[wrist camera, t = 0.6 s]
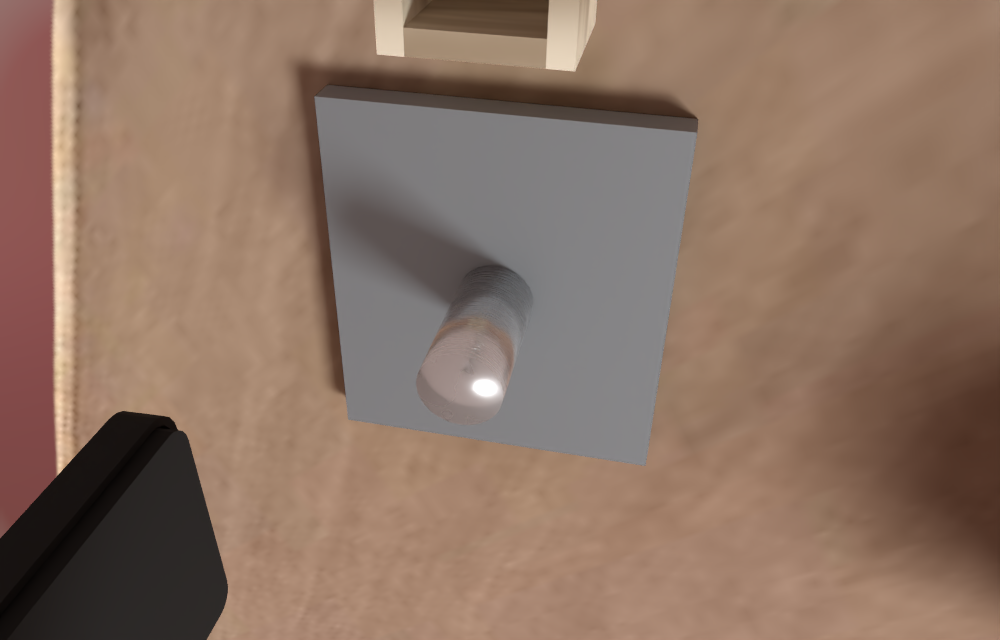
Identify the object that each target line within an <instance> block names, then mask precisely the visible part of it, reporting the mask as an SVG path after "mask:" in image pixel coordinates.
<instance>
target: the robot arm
mask: <svg viewBox="0 0 1000 640" xmlns="http://www.w3.org/2000/svg"><path fill="white" fill-rule="evenodd" d="M227 593H228V584H227V579H226V575H225V572H224V568H223V564H222V561H221V557H220V553H219V550H218V546H217V542H216V539H215V535H214V531H213V528H212V524H211V520H210V517H209V513H208V509H207V506H206V502H205V498H204V495H203V491H202V487H201V484H200V480H199V476H198V473H197V469H196V465H195V462H194V458H193V454H192V451H191V447H190V444H189V440H188V438H187V435H186V434H185V433H184V432H183V431H179V430H178V429H177V427H176V425H175V422H174V421H173V420H172V419H171V418H170V417H165V416H158V415H150V414H142V413H134V412H127V411H122V412H119V413H116V414H115V415H113V416H112V417H111V418H110V419H109V420H108V421H107V422H106V423H105V424H104V425H103V426H102V428H101V429H100V430H99V431H98V432H97V433H96V434H95V435H94V436H93V437H92V438H91V440H90V441H89V442H88V443H87V444H86V445H85V446H84V447H83V448H82V449H81V451H80V452H79V453H78V454H77V455H76V456H75V457H74V458H73V459H72V460H71V462H70V463H69V464H68V465H67V466H66V467H65V468H64V469H63V470H62V471H61V473H60V474H59V475H58V476H57V477H56V478H55V479H54V480H53V481H52V482H51V484H50V485H49V486H48V487H47V488H46V489H45V490H44V491H43V492H42V493H41V495H40V496H39V497H38V498H37V499H36V500H35V501H34V502H33V503H32V504H31V505H30V507H29V508H28V509H27V510H26V511H25V512H24V513H23V514H22V515H21V516H20V518H19V519H18V520H17V521H16V522H15V523H14V524H13V525H12V526H11V527H10V528H9V530H8V531H7V532H6V533H5V534H4V535H3V536H2V537H1V538H0V640H207V638H208V636H209V634H210V633H211V631H212V629H213V627H214V626H215V624H216V622H217V620H218V619H219V617H220V615H221V613H222V611H223V609H224V606H225V603H226V599H227Z"/></svg>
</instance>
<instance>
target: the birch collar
mask: <svg viewBox="0 0 1000 640" xmlns="http://www.w3.org/2000/svg"><path fill="white" fill-rule="evenodd" d="M596 8H597V0H374V15H375V32H376V48H377V54H378V55H390V56H402V57H414V58H425V59H437V60H449V61H460V62H472V63H484V64H495V65H507V66H519V67H531V68H542V69H554V70H566V71H575V70H576V68H577V65H578V63H579V61H580V58H581V56H582V53H583V51H584V49H585V46H586V44H587V42H588V39H589V37H590V35H591V32H592V30H593V28H594V25H595V21H596Z"/></svg>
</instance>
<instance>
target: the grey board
mask: <svg viewBox="0 0 1000 640" xmlns="http://www.w3.org/2000/svg"><path fill="white" fill-rule="evenodd" d="M314 98H315V107H316V117H317V126H318V136H319V146H320V155H321V165H322V174H323V184H324V193H325V203H326V212H327V222H328V231H329V241H330V250H331V260H332V269H333V279H334V288H335V298H336V307H337V317H338V326H339V336H340V345H341V355H342V364H343V374H344V383H345V393H346V402H347V412H348V420H355V421H361V422H368V423H374V424H380V425H387V426H393V427H400V428H406V429H412V430H419V431H425V432H432V433H438V434H444V435H451V436H457V437H464V438H470V439H476V440H483V441H489V442H496V443H502V444H508V445H515V446H521V447H528V448H534V449H541V450H547V451H553V452H560V453H566V454H573V455H579V456H585V457H592V458H598V459H605V460H611V461H617V462H624V463H630V464H637V465H643V466H645V465H646V459H647V453H648V446H649V440H650V433H651V427H652V420H653V414H654V408H655V401H656V395H657V388H658V382H659V376H660V369H661V363H662V356H663V350H664V343H665V337H666V331H667V324H668V318H669V311H670V305H671V298H672V292H673V286H674V279H675V273H676V266H677V260H678V253H679V247H680V241H681V234H682V228H683V221H684V215H685V209H686V202H687V196H688V189H689V183H690V176H691V170H692V164H693V157H694V151H695V144H696V138H697V129H698V119H693V118H682V117H671V116H660V115H649V114H638V113H627V112H617V111H606V110H595V109H584V108H573V107H562V106H551V105H541V104H530V103H519V102H508V101H497V100H486V99H475V98H465V97H454V96H443V95H432V94H421V93H410V92H399V91H389V90H378V89H367V88H356V87H345V86H334V85H327V86H325V87H324V88H323V89H322V90H321V91H320V92H319V93H318V94H317V95H315V96H314ZM485 265H497V266H502V267H505V268H508V269H510V270H512V271H514V272H516V273H517V274H518V275H520V276H521V277H522V278H523V279H524V280H525V281H526V283H527V284H528V286H529V287H530V289H531V292H532V295H533V309H532V312H531V315H530V318H529V321H528V324H527V328H526V331H525V334H524V337H523V340H522V343H521V346H520V349H519V352H518V356H517V359H516V362H515V365H514V368H513V371H512V374H511V377H510V380H509V383H508V387H507V390H506V393H505V396H504V399H503V402H502V405H501V407H500V409H499V411H498V412H497V414H496V415H495V416H494V417H492V418H491V419H489V420H487V421H486V422H483V423H480V424H475V425H461V424H455V423H452V422H448V421H446V420H444V419H442V418H440V417H438V416H437V415H435V414H434V413H432V412H431V411H430V410H429V409H428V408H427V407H426V406H425V405H424V403H423V402H422V400H421V399H420V397H419V394H418V391H417V387H416V379H417V375H418V372H419V370H420V368H421V365H422V363H423V361H424V359H425V357H426V355H427V353H428V351H429V348H430V346H431V344H432V342H433V340H434V338H435V336H436V334H437V331H438V329H439V327H440V325H441V323H442V321H443V319H444V316H445V314H446V312H447V310H448V308H449V306H450V304H451V302H452V299H453V297H454V295H455V293H456V291H457V289H458V287H459V285H460V282H461V281H462V279H463V277H464V276H465V275H466V274H467V273H468V272H470V271H471V270H473V269H475V268H477V267H480V266H485Z"/></svg>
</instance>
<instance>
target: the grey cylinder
mask: <svg viewBox="0 0 1000 640" xmlns="http://www.w3.org/2000/svg"><path fill="white" fill-rule="evenodd" d="M532 309H533V295H532V292H531V289H530V287H529V286H528V284H527V283H526V281H525V280H524V279H523V278H522V277H521V276H520V275H518V274H517V273H516V272H514V271H512V270H510V269H508V268H505V267H502V266H497V265H485V266H480V267H477V268H475V269H473V270H471V271H470V272H468V273H467V274H466V275H465V276H464V277H463V279H462V281H461V282H460V285H459V287H458V289H457V291H456V293H455V295H454V297H453V299H452V302H451V304H450V306H449V308H448V310H447V312H446V314H445V316H444V319H443V321H442V323H441V325H440V327H439V329H438V331H437V334H436V336H435V338H434V340H433V342H432V344H431V346H430V348H429V351H428V353H427V355H426V357H425V359H424V361H423V363H422V365H421V368H420V370H419V372H418V375H417V379H416V387H417V391H418V394H419V397H420V399H421V400H422V402H423V403H424V405H425V406H426V407H427V408H428V409H429V410H430V411H431V412H432V413H434V414H435V415H437V416H438V417H440V418H442V419H444V420H446V421H448V422H452V423H455V424H461V425H475V424H480V423H483V422H486V421H487V420H489V419H491V418H492V417H494V416H495V415H496V414H497V412H498V411H499V409H500V407H501V405H502V402H503V399H504V396H505V393H506V390H507V387H508V383H509V380H510V377H511V374H512V371H513V368H514V365H515V362H516V359H517V356H518V352H519V349H520V346H521V343H522V340H523V337H524V334H525V331H526V328H527V324H528V321H529V318H530V315H531V312H532Z"/></svg>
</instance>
